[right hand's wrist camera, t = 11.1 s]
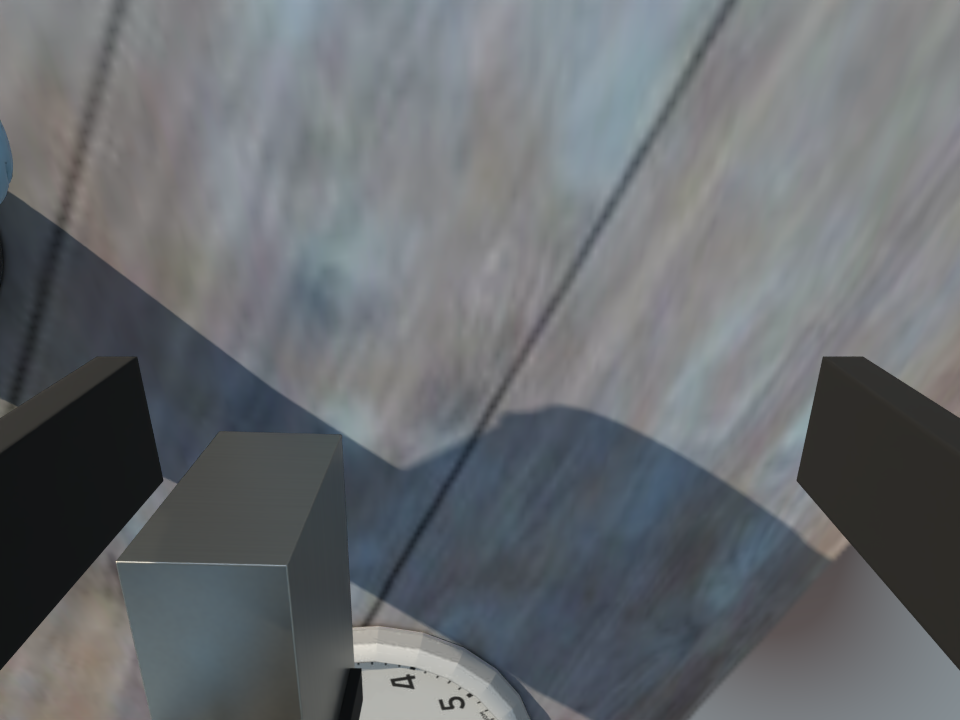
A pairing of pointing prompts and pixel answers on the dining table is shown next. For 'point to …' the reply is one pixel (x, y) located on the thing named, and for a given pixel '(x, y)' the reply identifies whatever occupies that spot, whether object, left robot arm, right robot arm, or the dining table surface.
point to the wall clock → (428, 679)
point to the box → (246, 584)
